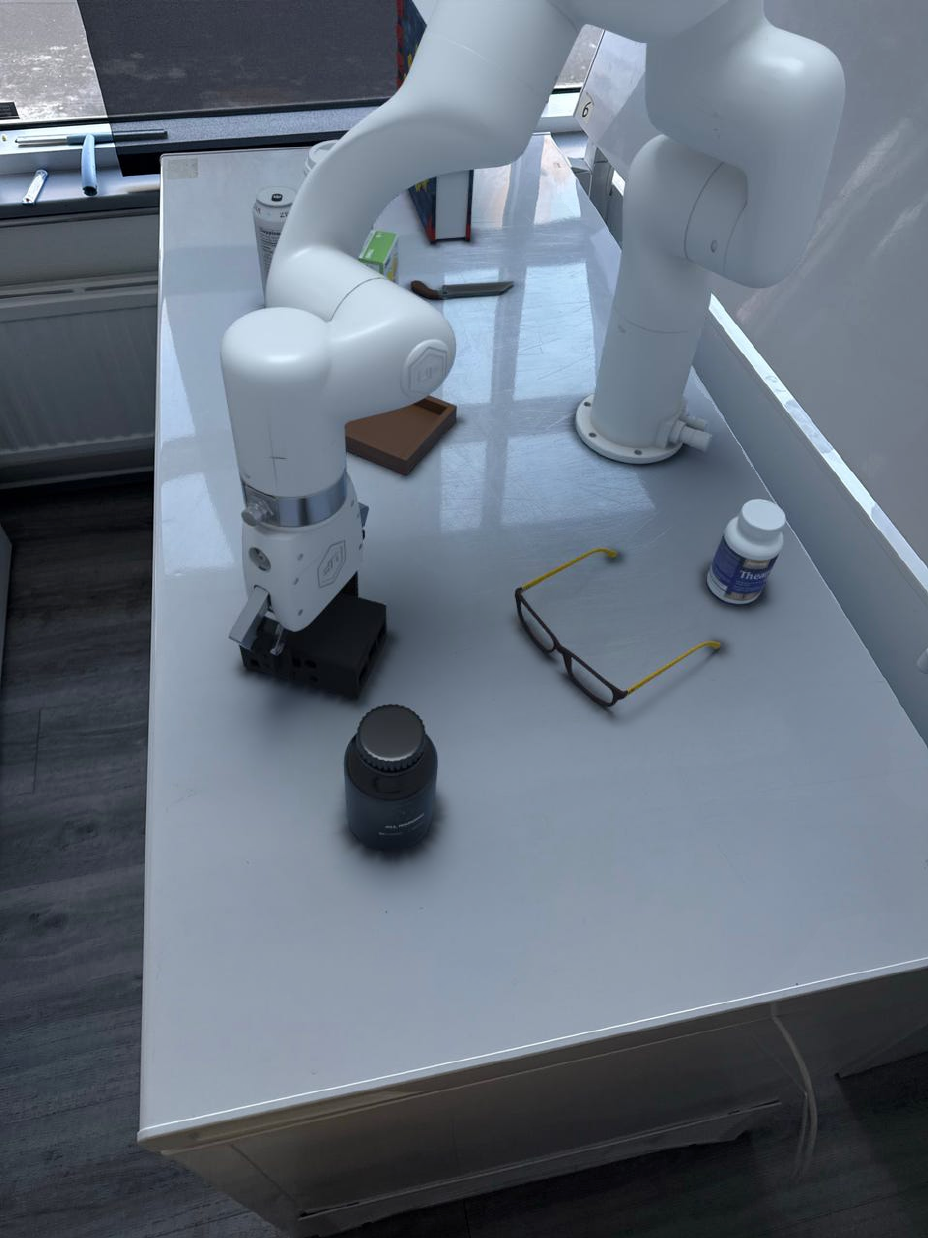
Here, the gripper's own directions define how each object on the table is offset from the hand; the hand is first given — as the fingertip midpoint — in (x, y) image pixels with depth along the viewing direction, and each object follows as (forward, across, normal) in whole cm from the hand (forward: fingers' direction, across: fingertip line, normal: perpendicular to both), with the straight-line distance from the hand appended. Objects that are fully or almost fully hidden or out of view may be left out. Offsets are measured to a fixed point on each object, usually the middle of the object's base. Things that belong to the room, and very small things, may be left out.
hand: (310, 631), depth 77 cm
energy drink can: (+3, +43, +34) cm, 55 cm away
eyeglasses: (+3, +16, -22) cm, 28 cm away
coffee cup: (+3, +56, +34) cm, 66 cm away
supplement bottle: (+4, -10, -14) cm, 17 cm away
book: (+3, +79, +34) cm, 86 cm away
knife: (+3, +60, +18) cm, 63 cm away
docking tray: (+3, +30, +13) cm, 33 cm away
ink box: (+3, +48, +24) cm, 54 cm away
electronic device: (+4, 0, 0) cm, 4 cm away
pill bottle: (+3, +28, -30) cm, 41 cm away
